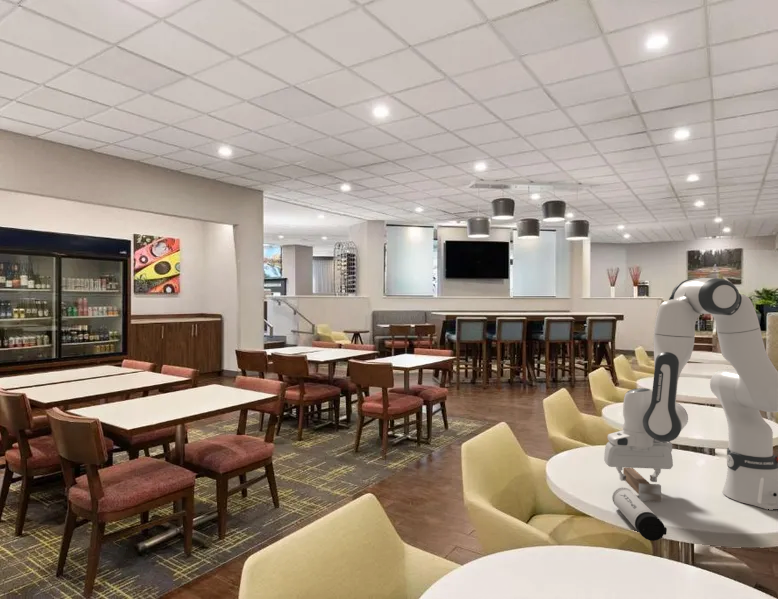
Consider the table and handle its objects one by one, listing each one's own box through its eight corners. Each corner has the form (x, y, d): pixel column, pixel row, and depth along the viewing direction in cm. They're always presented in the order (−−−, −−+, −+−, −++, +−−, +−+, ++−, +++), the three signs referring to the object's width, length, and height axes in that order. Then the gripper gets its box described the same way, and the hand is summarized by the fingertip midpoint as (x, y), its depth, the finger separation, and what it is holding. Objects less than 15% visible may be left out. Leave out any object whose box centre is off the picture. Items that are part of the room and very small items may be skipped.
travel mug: (634, 510, 143) (665, 544, 123) (610, 506, 144) (638, 540, 124) (636, 489, 143) (668, 519, 123) (613, 485, 144) (641, 515, 124)
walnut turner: (637, 479, 167) (637, 465, 167) (661, 502, 148) (661, 485, 148) (618, 479, 168) (618, 464, 168) (640, 501, 149) (640, 484, 149)
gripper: (667, 436, 160) (667, 478, 160) (602, 434, 163) (602, 476, 163) (676, 442, 154) (676, 485, 154) (608, 439, 157) (608, 483, 157)
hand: (638, 480), depth 159 cm, fingers open, 8 cm apart
